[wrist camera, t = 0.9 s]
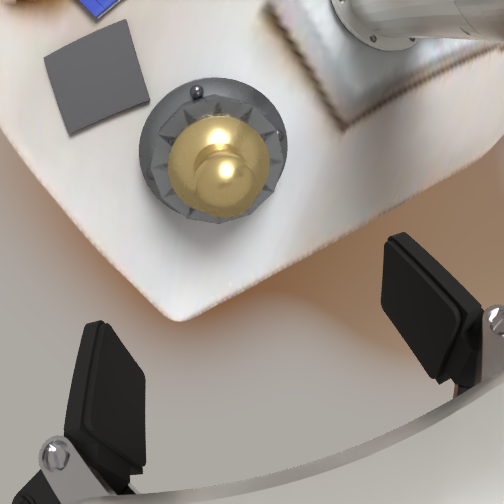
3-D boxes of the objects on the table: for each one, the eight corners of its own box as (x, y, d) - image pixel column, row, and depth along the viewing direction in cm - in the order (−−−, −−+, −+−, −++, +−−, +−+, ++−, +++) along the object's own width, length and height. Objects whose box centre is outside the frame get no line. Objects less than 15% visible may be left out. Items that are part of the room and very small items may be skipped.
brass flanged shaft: (245, 99, 26) (274, 113, 18) (264, 178, 31) (296, 224, 22) (159, 125, 26) (145, 151, 18) (186, 202, 31) (187, 258, 22)
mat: (126, 19, 22) (125, 19, 22) (150, 99, 27) (149, 100, 27) (45, 58, 22) (43, 57, 21) (70, 133, 27) (68, 134, 26)
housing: (262, 63, 27) (282, 60, 21) (290, 186, 35) (312, 213, 29) (125, 104, 27) (108, 112, 21) (169, 223, 35) (166, 257, 29)
